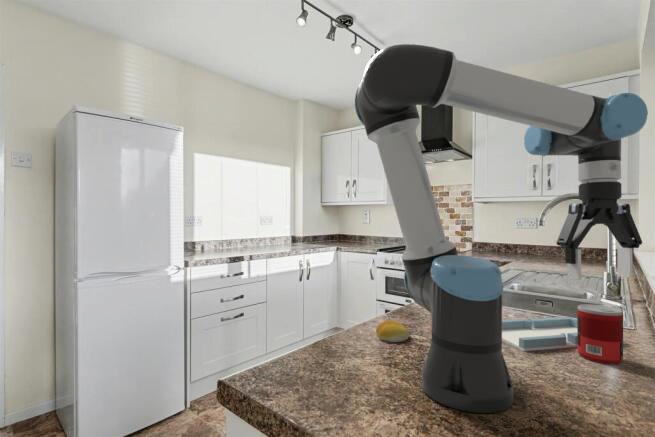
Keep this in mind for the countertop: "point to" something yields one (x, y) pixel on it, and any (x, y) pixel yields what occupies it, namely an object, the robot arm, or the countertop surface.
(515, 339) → the track
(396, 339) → the bread roll
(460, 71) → the robot arm
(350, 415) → the countertop surface
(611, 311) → the canned food
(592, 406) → the countertop surface
